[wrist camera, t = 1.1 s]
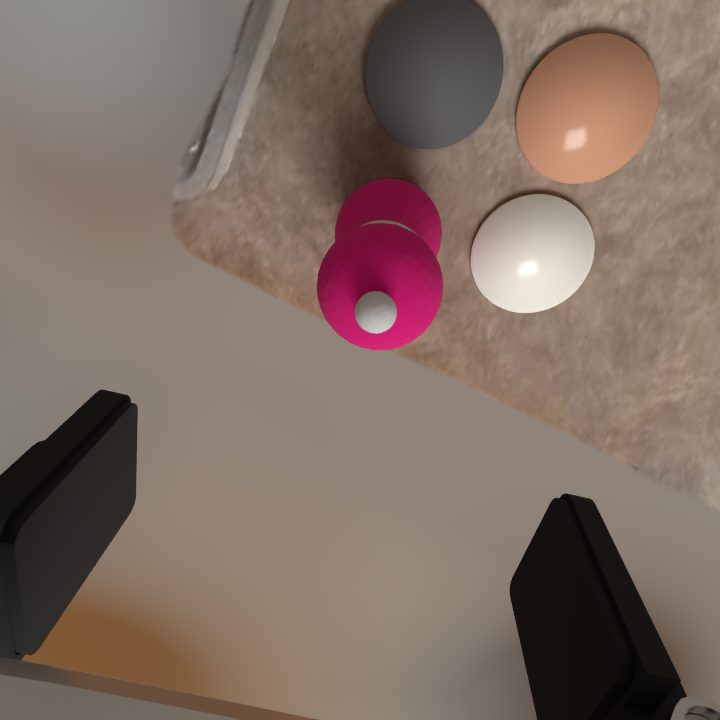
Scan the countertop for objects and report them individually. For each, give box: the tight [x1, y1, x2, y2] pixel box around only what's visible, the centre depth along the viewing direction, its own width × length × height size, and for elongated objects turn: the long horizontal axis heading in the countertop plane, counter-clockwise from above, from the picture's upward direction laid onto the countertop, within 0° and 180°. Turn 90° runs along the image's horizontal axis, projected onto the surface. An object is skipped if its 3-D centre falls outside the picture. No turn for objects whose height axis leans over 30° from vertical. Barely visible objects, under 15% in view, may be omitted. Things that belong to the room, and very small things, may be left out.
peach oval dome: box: [516, 33, 659, 184], centre depth 34 cm, size 9×9×1 cm
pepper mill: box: [317, 178, 443, 350], centre depth 30 cm, size 7×7×20 cm
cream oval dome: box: [471, 194, 595, 313], centre depth 39 cm, size 9×9×1 cm
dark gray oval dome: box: [366, 0, 503, 149], centre depth 34 cm, size 9×9×1 cm
